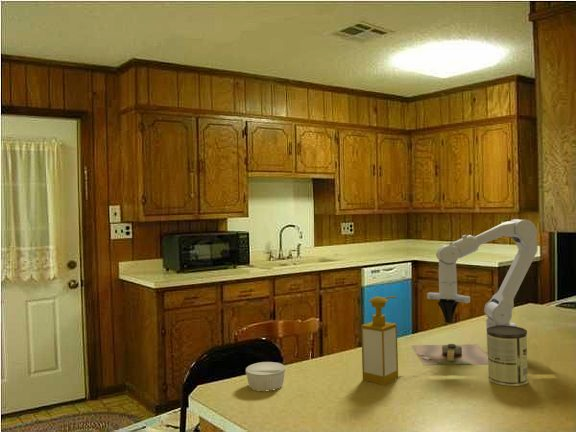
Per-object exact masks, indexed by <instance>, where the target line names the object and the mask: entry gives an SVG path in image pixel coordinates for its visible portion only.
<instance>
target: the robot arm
mask: <svg viewBox="0 0 576 432" xmlns="http://www.w3.org/2000/svg"><path fill="white" fill-rule="evenodd" d="M538 233H539V232H538V229H537V226H536V225H535V224H534V222H532V221H531V220H529V219H518V218H513V219H511V220H509V221H504V222H502V223H500V224H498V225H496V226H493V227H492V228H489V229H488V230H485V231H483V232H481V233H479V234H478V235H475V236H474V235H471V234H468V235H467V234H464V235H463V234H462V236H461V238H459V239H458V240H455V241H449V242H448V244H444V245H441V246H440V247H439V248H438V249H437V251H436V253H435V255H436V258H437V260H438V292H431V291H430V292H427V293H426V298H427V299H428V300H432V299H433V300H437V304H438V307H439V308H440V310H441V311H442V314H443V319H444V322H445V323H447V324H451V323H452V322H453V318H454V315H455V312H456V309H457V307H458V305H459V303H464V304H469V303H471V296H469V295H463V294H458V280H457V278H458V276H457V261H458V259H461V258H464V257H466V256H468V255H470V254H472V253H475V252H477V251H478V250H479V247H480V246H481V245H484V244H486V243H488V242H491V241H494V240H497V239H499V238H501V237H507V238H508V237H511V239H512V240H513V241H514V243H515V245H516V246H517V249H518V250H517V253H516V254H515V256H514V258H513V259H512V260H513V261H512V263H511V265H510V266H509V269H508V270H507V273H506V275H505V277H504V279H503V281H502V283H501V285H500V287H499V288H498V290H497V292H496V293H495V294H493V295H492V297H491V298H490V300H489V301H488V302H486V303H485V305H484V309H483V311H484V314H485V316H486V317H487V318H486V321H485V322H486V323H485V324H486V326H485V327H486V329H487V328H489V327H492V326H515V327H518V326H517V324H516V323H515V322H511V319H512V317H513V309H514V307H515V304H514V303H515V302H514V299H515V297H516V295H517V292H518V291H519V289H520V286H521V285H522V283H523V281H524V278H525V277H526V274H527V273H528V271H529V269H530V266H531V265H532V263H533V260H534V258H535V256H536V254H537V252H538ZM438 300H439V301H438ZM486 347H487V348H488V340H487V339H486Z"/></svg>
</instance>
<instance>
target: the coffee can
mask: <svg viewBox="0 0 576 432" xmlns="http://www.w3.org/2000/svg"><path fill="white" fill-rule="evenodd" d="M527 335H528V330H527V329H526V328H523V327H520V326H517V327H515V326H492V327H489V328H487V327H486V341H487V340H488V347H487V354H488V365H487V366H488V368H487V369H488V381H489V382H491V383H493V384H496V385H498V386H504V387H505V386H506V387H520V386H521V387H522V386H524V385H527V384H528V383H529V379H528V343H527Z"/></svg>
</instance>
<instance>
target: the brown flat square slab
mask: <svg viewBox="0 0 576 432" xmlns="http://www.w3.org/2000/svg"><path fill="white" fill-rule="evenodd" d="M444 345H445V344H422V345H421V344H417V345H415V344H413V345H411V347H412V348H413V350H414V353H415V354H416V355H417V357H418V358H419V360H420V362H421V364H422V365H423V366H468V365H469V366H471V365H472V366H473V365H474V366H475V365H476V366H479V365H481V366H482V365H485V366H486V365H487V366H488V352H486V351H485V350H484V349H483V348H482V347H481V346H480V345H479V344H477V343H476V344H474V343H473V344H471V343H470V344H456V345H457V346H460V347H462V355H460V356H454V361H447V355H444V354H442V346H444Z"/></svg>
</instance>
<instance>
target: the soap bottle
mask: <svg viewBox="0 0 576 432" xmlns="http://www.w3.org/2000/svg"><path fill="white" fill-rule="evenodd" d="M388 299H397V297H396V296H385V297H383V296H374V297H372V298H370V299H369V300H368V302H369V303H370V304H371V308H375V313H374V314H372V317H371V318H372V321H370V322H367V323H365V324H364V323H363V324H361V325H360V326H361V328H360V331H361V365H362V369H361V370H362V381H365V380H366V382H369V381H370V382H371V383H373V382H374V383H373V384H378V385H382V386H385V385H388V384H390V383H391V382H394V381H396V380H398V379H399V359H398V357H399V355H398V326H397V323H393V322H388V321H386V314H382V308H386V303H388V302H389V300H388Z"/></svg>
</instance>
